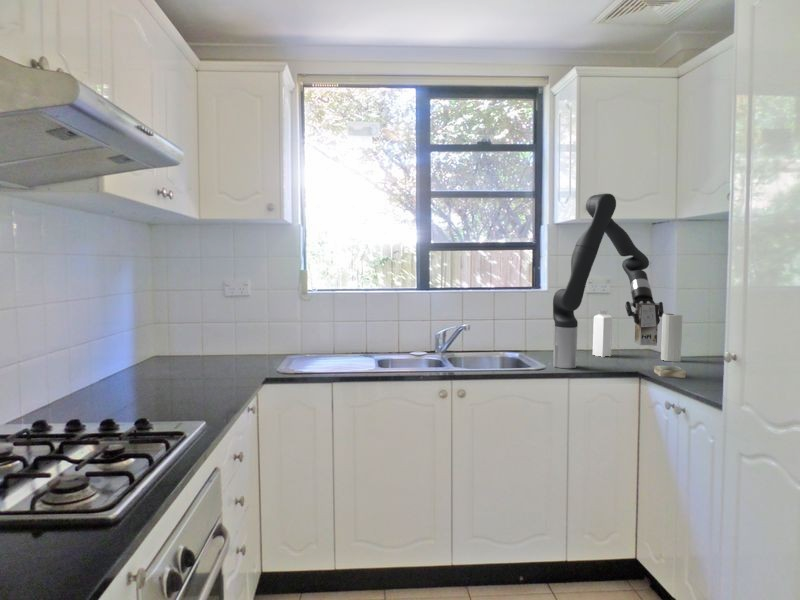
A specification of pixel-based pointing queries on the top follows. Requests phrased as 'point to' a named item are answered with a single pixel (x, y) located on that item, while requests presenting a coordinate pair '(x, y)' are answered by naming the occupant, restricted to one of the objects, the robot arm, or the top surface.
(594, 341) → the milk
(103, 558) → the top surface
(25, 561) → the top surface
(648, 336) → the coffee box
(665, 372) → the podium
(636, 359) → the top surface
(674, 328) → the paper towel roll
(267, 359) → the top surface
